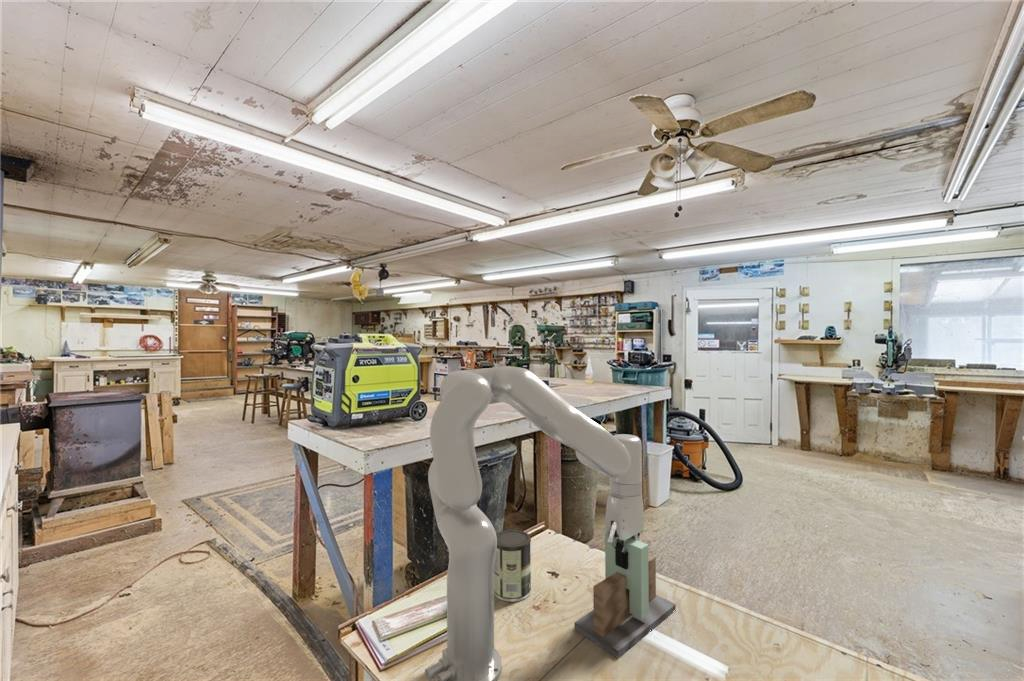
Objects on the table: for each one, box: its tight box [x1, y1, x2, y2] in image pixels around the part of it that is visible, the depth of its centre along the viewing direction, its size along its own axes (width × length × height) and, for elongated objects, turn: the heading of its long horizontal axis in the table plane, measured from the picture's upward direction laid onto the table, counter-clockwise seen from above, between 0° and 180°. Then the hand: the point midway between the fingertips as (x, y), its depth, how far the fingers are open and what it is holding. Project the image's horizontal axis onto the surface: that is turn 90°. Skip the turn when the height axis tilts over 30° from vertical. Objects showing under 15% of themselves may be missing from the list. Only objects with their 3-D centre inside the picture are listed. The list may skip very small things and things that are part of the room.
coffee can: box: [494, 529, 532, 603], centre depth 111 cm, size 10×10×14 cm
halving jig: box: [574, 554, 677, 659], centre depth 100 cm, size 24×12×12 cm, turn 131°
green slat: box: [604, 533, 649, 619], centre depth 100 cm, size 3×10×16 cm, turn 41°
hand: (626, 563), depth 100 cm, fingers closed on green slat, 3 cm apart
